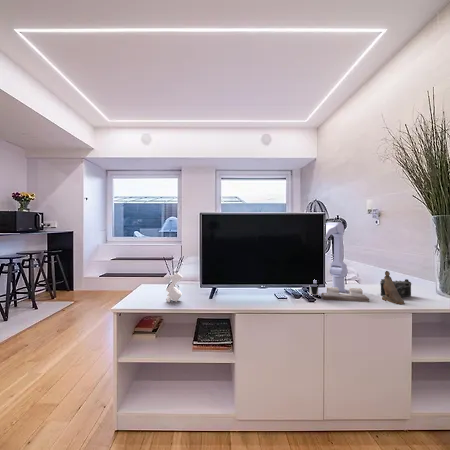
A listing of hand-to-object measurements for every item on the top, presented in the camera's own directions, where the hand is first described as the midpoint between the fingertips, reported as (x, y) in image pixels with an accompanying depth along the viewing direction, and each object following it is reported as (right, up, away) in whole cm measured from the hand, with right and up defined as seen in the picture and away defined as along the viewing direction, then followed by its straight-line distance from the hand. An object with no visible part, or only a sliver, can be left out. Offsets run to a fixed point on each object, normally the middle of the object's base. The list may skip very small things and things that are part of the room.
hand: (313, 293), depth 177 cm
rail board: (+15, -2, -6) cm, 17 cm away
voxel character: (-81, -2, -10) cm, 82 cm away
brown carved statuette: (+40, -2, -14) cm, 42 cm away
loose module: (0, -2, 0) cm, 2 cm away
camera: (+48, -2, -4) cm, 48 cm away
